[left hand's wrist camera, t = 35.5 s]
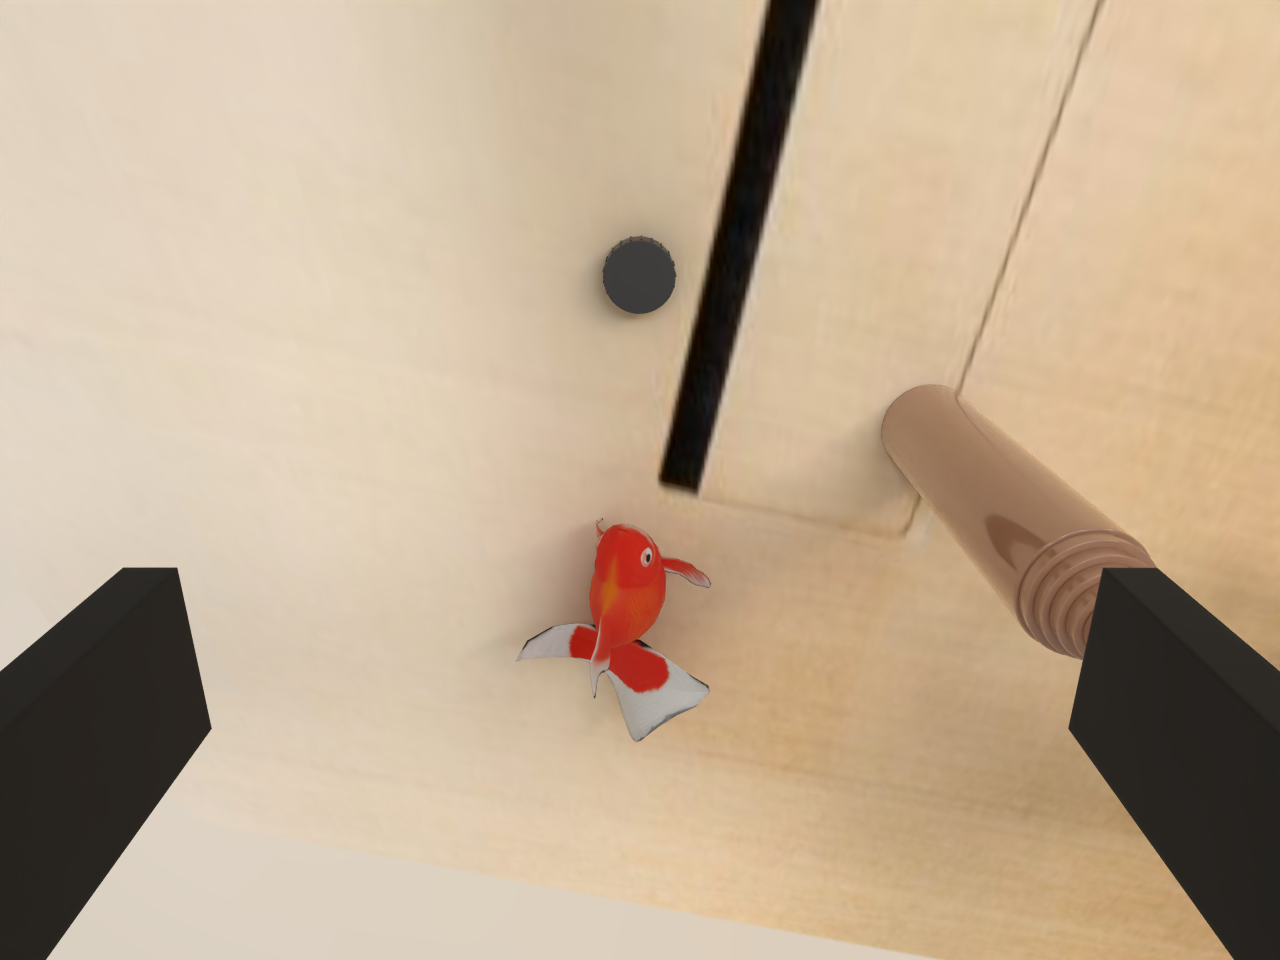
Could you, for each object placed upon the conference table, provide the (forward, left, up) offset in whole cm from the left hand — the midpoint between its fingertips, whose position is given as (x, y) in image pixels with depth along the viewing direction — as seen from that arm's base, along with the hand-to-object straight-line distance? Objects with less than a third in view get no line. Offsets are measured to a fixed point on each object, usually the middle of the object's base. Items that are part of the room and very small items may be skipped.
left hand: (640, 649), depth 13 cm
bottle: (+18, +6, -38) cm, 42 cm away
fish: (+15, -14, -38) cm, 43 cm away
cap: (0, 0, -36) cm, 36 cm away
